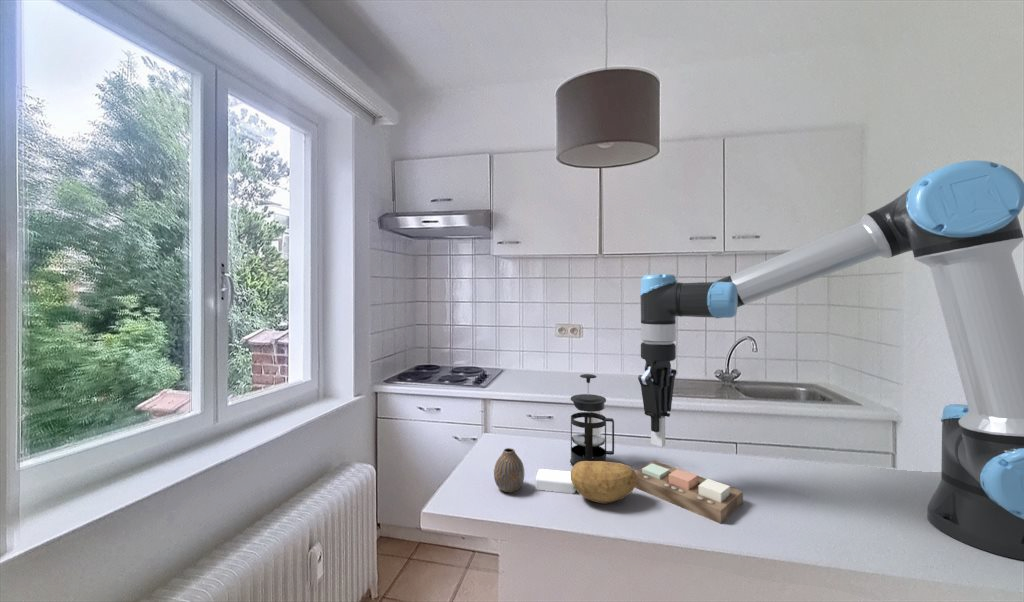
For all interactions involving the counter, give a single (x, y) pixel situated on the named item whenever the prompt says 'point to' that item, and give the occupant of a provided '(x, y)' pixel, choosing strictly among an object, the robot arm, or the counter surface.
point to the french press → (589, 428)
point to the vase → (509, 471)
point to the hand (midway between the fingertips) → (658, 444)
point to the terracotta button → (683, 479)
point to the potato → (603, 480)
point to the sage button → (656, 471)
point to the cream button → (714, 490)
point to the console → (688, 495)
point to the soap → (554, 481)
